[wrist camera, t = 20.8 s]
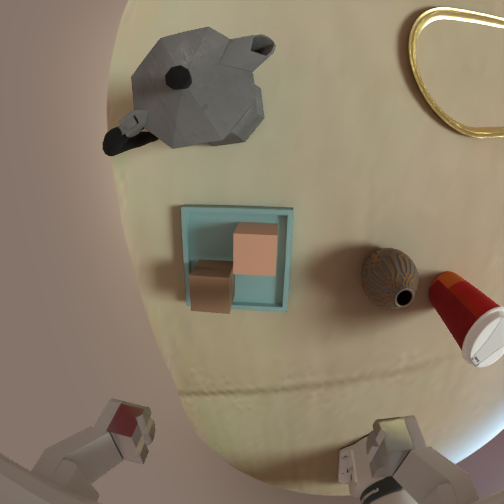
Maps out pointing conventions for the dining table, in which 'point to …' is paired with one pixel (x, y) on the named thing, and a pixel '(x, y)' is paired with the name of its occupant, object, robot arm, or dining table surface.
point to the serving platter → (413, 36)
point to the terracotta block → (255, 248)
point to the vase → (390, 279)
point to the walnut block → (212, 286)
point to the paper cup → (469, 318)
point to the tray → (221, 248)
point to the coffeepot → (194, 92)
